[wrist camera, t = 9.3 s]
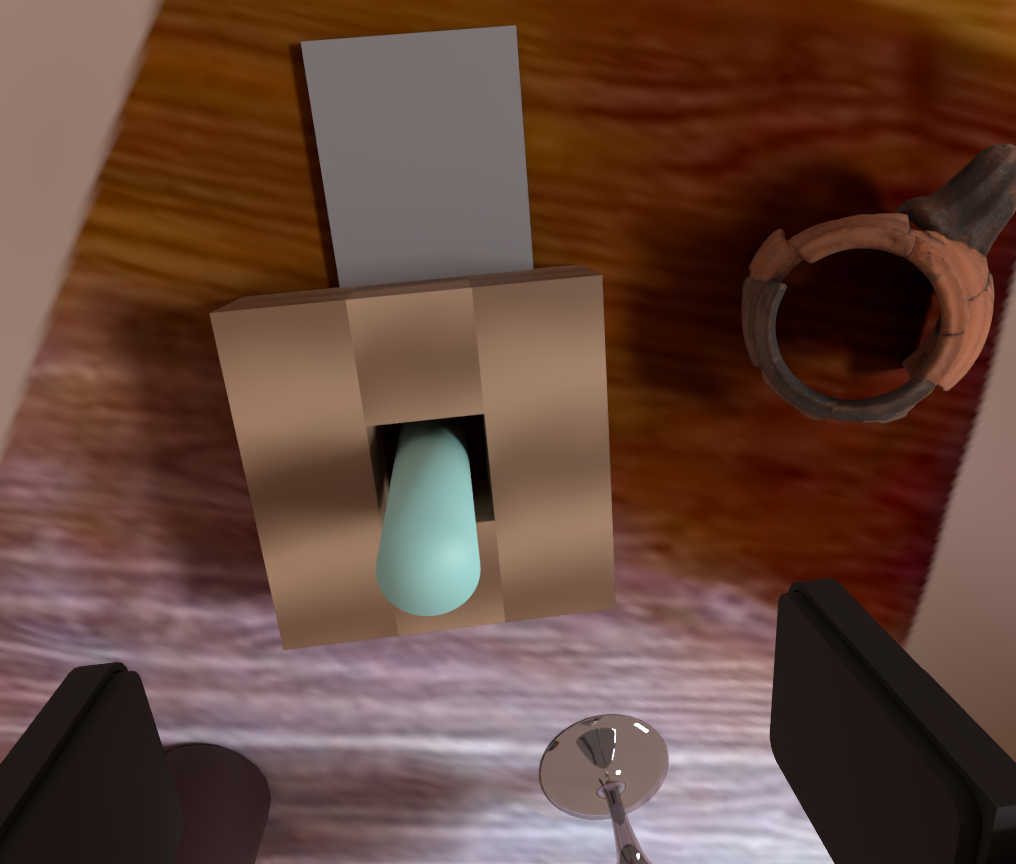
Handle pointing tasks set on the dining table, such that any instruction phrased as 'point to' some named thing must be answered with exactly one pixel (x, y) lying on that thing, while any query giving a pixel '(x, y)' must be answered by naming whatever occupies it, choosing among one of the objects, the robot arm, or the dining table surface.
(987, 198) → the brown hollow rounded piece
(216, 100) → the dining table surface
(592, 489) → the hole block
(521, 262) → the mat
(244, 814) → the bottle
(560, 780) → the wine glass
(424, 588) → the peg
